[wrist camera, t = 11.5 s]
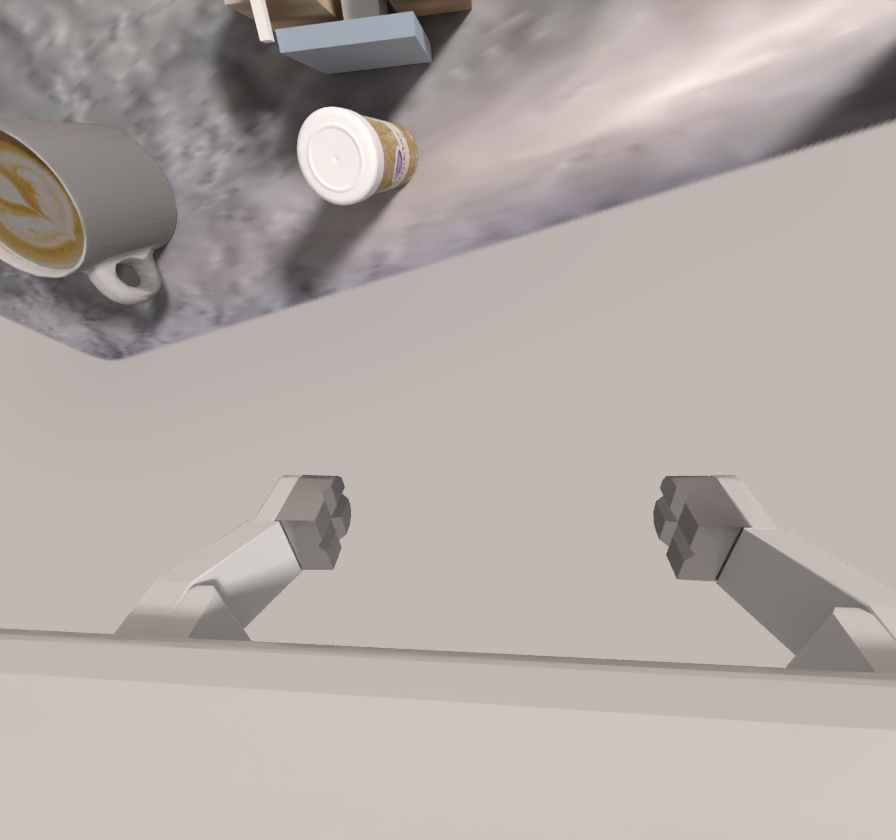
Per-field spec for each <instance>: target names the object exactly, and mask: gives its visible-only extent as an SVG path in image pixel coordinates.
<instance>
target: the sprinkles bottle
mask: <svg viewBox="0 0 896 840" xmlns="http://www.w3.org/2000/svg"><path fill="white" fill-rule="evenodd" d="M297 157H298V162H299V166H300V169H301V172H302V174H303V176H304V178H305V180H306V181H307V183H308V184H309V186H310V187H311V188H312V190H313V191H314V192H315V193H316V194H317V195H319V196H320V197H321V198H323V199H324V200H326V201H328V202H330V203H333V204H336V205H352V204H356V203H359V202H362V201H364V200H366V199H368V198H369V197H370V196H372V195H373V194H375V193H381V192H384V191H387V190H390V189H392V188H394V187H400V186H402V185H404V184H406V183H407V182H408V181H409V180H410V179H411V177H412V176H413V174H414V172H415V170H416V167H417V162H418V154H417V147H416V144H415V142H414V139H413V137H412V135H411V134H410V133H409V132H408V130H407V129H406V128H404V127H403V126H402V125H400V124H398V123H395V122H392V121H388V122H387V121H384V120H380V119H375V118H371V117H366V116H361V115H360V114H358V113H356V112H354V111H351V110H348V109H344V108H339V107H324V108H321V109H318V110H317V111H315V112H313V113H312V114H311V115H309V116H308V118H307V119H306V120H305V121H304V123H303V125H302V127H301V129H300V132H299V135H298V140H297Z"/></svg>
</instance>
